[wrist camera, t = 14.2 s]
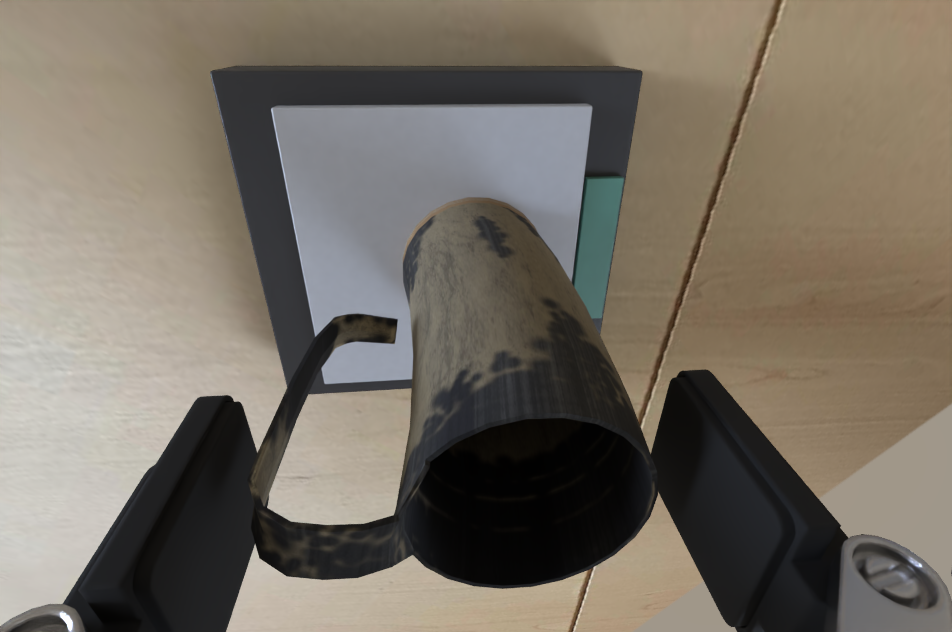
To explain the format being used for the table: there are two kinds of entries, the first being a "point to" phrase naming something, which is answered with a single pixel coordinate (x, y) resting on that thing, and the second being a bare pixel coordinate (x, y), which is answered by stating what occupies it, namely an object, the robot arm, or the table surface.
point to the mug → (481, 421)
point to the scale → (414, 184)
